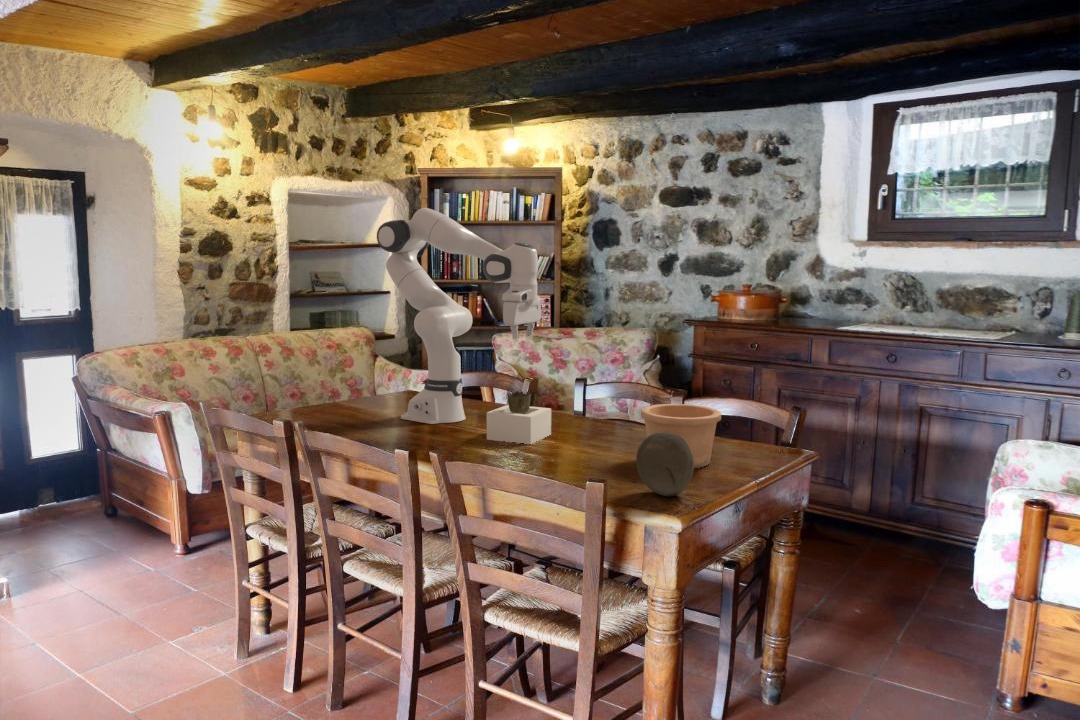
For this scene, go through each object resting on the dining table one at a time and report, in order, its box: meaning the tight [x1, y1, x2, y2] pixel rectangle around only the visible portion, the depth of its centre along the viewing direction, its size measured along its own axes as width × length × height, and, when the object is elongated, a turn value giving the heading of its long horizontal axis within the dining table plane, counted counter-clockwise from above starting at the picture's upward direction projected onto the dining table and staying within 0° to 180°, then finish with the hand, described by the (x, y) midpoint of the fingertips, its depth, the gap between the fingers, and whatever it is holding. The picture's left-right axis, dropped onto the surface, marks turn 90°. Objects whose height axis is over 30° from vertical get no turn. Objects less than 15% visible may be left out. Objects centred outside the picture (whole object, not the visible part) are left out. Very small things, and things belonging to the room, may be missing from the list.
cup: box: [506, 390, 532, 414], centre depth 256 cm, size 8×7×8 cm
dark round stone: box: [635, 432, 695, 497], centre depth 197 cm, size 14×14×15 cm
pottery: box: [640, 403, 722, 469], centre depth 228 cm, size 22×22×14 cm
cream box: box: [486, 404, 552, 445], centre depth 257 cm, size 15×15×8 cm
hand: (522, 337), depth 265 cm, fingers open, 8 cm apart
